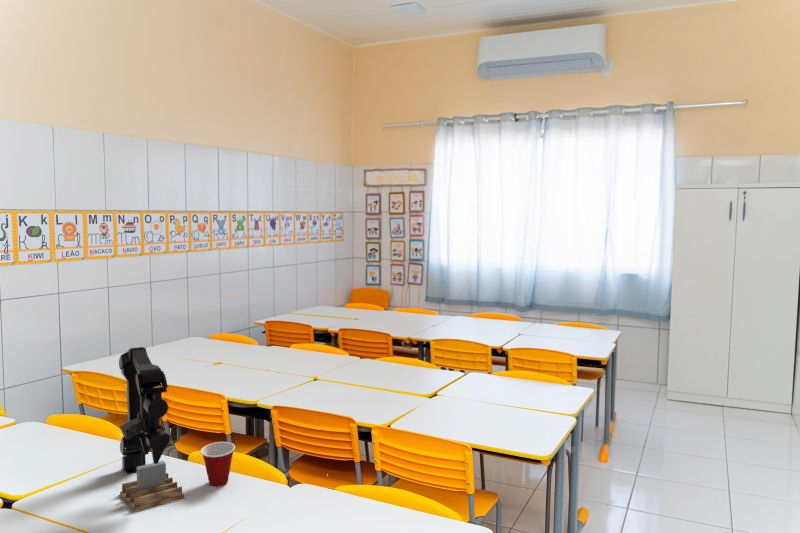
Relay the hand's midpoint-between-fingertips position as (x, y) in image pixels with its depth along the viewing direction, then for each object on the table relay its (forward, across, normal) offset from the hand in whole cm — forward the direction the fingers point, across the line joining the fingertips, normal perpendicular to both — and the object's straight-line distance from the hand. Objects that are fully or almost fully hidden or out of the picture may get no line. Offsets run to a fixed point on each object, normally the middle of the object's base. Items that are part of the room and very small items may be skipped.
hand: (151, 458), depth 192 cm
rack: (+12, 0, 0) cm, 12 cm away
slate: (+11, 0, 0) cm, 11 cm away
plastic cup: (+12, +3, +20) cm, 24 cm away
